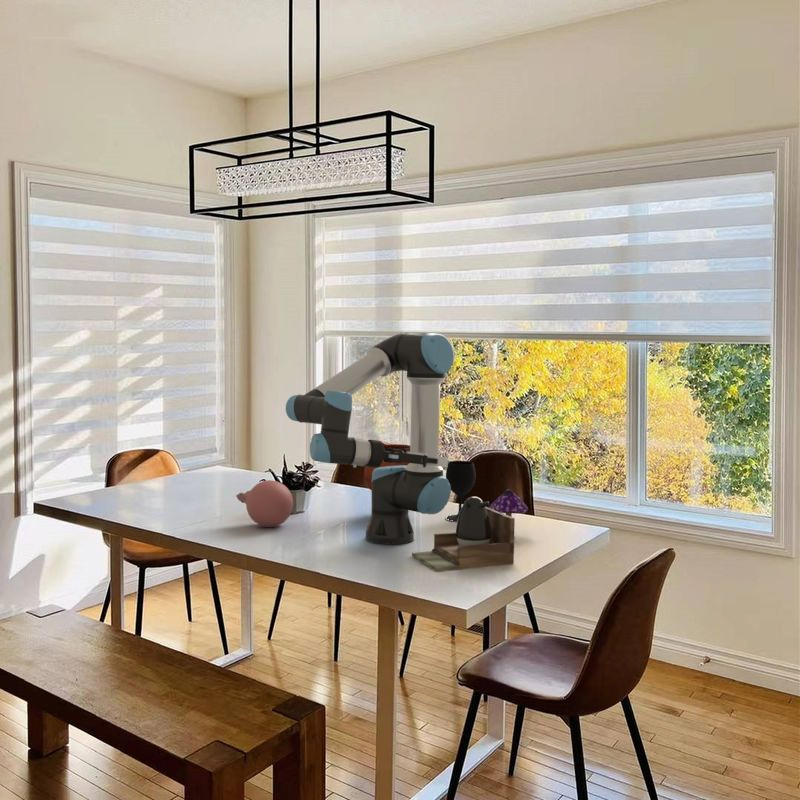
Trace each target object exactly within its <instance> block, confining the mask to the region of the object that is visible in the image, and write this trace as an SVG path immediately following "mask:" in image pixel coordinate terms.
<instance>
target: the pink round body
mask: <svg viewBox="0 0 800 800" xmlns="http://www.w3.org/2000/svg"><path fill="white" fill-rule="evenodd" d="M236 499H237V500H238V501H239V502H241V503H242V504H245V506H246V507H245V508H246V511H247V514H248V516H249V517H250V519H251V520H252V521H253V522H254V523H256V524H257V525H259V526H262V527H265V528H273V527H277V526H280V525H282V524H283V523H285V522H286V520H288V519H289V517H290V515H291V514H292V511H293V507H294V498H293V494H292V492H291V491H290V489H289V488H288V487H287V486H286V485H285V484H283V483H281V482H279V481H277V480H272V479H271V480H269V479H268V480H264V481H261V482H259V483H257V484H255V485H254V486H253V487H252V488H251V489H250V490H247V491H246V492H239V493H238V494H236Z"/></svg>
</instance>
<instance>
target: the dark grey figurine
mask: <svg viewBox="0 0 800 800" xmlns="http://www.w3.org/2000/svg"><path fill="white" fill-rule="evenodd" d="M487 506H490V502H489V501H485V502H484V501H483V499H481V498H480V497H478V496H470V497H468V498H466V500H465V501H464V503H463V504H462V508H461V511H460V514H459V517H458V521H457V522H456V527H455V532H456V537H457V541H458V543H459V545H460V546H472V545H482V544H488V543H489V540H490V538H491V527H490V521H489V517H488V513H487V510H486V507H487Z"/></svg>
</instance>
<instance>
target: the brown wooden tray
mask: <svg viewBox="0 0 800 800" xmlns="http://www.w3.org/2000/svg"><path fill="white" fill-rule="evenodd" d="M486 510H487V513H488V517H489V521H490V527H491V538H490V540H489V543H488V544H482V545H472V546H460V545H459V543H458V541H457V537H456V531H455V532H443V533H434V534H433V535H434V536H433V538H434V539H433V549H431V550H428V551H417V552H411V557H413V556H414V557H415V559H416V558H417V559H418V560H417V559H416V560H417V561H419V560H420V561H421V562H420V561H419V562H420V563H422V562H423V563H422V564H424V563H425V564H426V566H427V565H428V566H429V568H430V567H431V568H430V569H431V570H433V569H434V571H435V572H436V571H437V572H446V571H445V570H447V571H453V569H454V571H456V570H465V569H473V568H483V567H493V566H503V565H504V564H505V565H514V564H515V563H514V559H515V556H514V555H515V526H516V525H515V523H516V522H515V519H516V518H514V517H513V516H512V517H510V516H508V515H506V513H500V512H498V511H495V510H493V509H490V507H487V506H486ZM414 557H413V558H414ZM513 563H514V564H513ZM425 564H424V565H425ZM505 565H504V566H505ZM428 566H427V567H428ZM455 569H456V570H455Z"/></svg>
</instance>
